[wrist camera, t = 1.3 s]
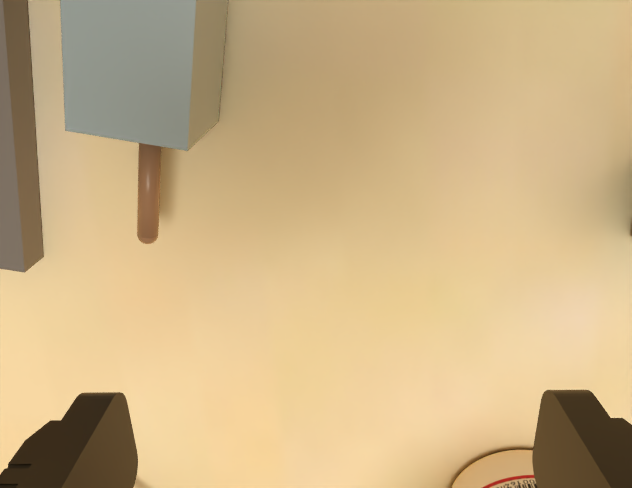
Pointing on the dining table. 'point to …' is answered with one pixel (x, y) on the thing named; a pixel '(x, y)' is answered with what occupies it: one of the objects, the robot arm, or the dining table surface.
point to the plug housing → (143, 79)
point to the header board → (17, 144)
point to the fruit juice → (499, 471)
